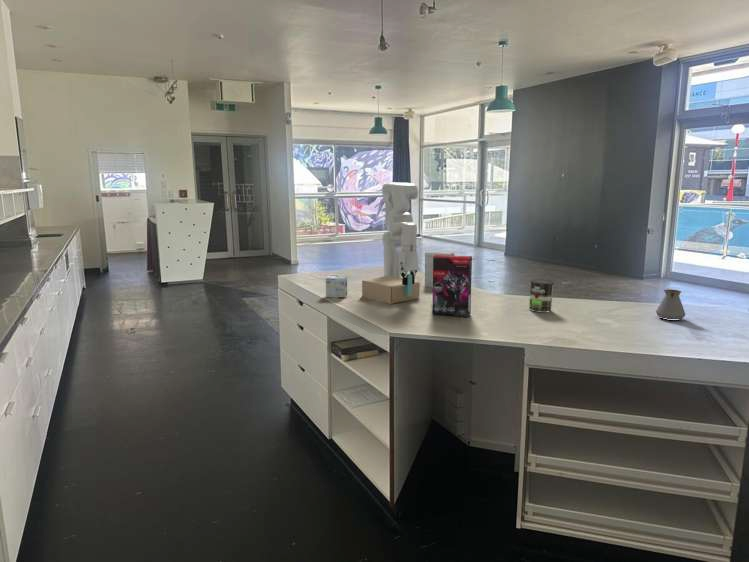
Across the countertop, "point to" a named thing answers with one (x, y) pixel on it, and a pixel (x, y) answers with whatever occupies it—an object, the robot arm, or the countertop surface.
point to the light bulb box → (336, 286)
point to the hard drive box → (431, 266)
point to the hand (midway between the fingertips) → (408, 283)
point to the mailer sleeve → (381, 288)
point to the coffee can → (541, 295)
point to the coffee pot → (671, 306)
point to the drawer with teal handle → (406, 290)
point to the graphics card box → (452, 285)
